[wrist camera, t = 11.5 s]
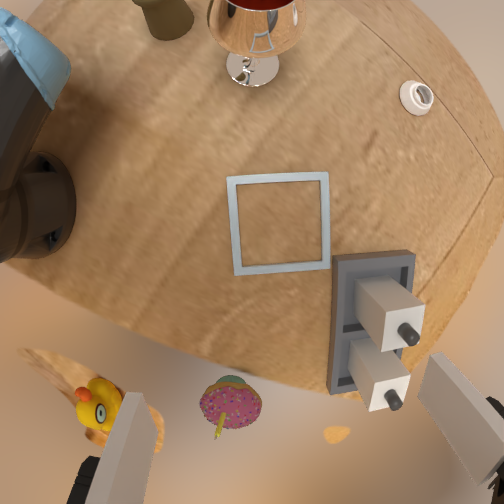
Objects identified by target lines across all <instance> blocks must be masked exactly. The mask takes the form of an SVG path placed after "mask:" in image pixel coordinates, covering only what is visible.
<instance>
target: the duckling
mask: <svg viewBox="0 0 504 504" xmlns="http://www.w3.org/2000/svg"><path fill="white" fill-rule="evenodd" d="M75 395H76V396H77V397H80V400H79V401H78V403H77V405H76V413H77V417H78V419H79V420H80V422H81V423H82V424H84V425H85V426H87V427H90V428H92V429H95V430H100V429H103V430H105V431H111V429H112V426H113V424H114V421H115V419H116V416H117V414H118V411H119V409H120V406H121V404H122V397H121V395H120V393H119V391H118V390H117V389H116V388H115V386H114V384H113V383H112V382H110V381H108V380H106V379H103V378H94V379H92V380H90V381H89V383H88V385H87V388H85V387H79V388H77V389H76V391H75Z"/></svg>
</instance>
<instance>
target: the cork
mask: <svg viewBox="0 0 504 504" xmlns="http://www.w3.org/2000/svg"><path fill="white" fill-rule="evenodd" d="M132 1H133V2H134V3H135V4H136V5H138V6H141V7H142V10H143V13H144V16H145V19H146V21H147V24H148V27H149V30H150V33H151V34H152V35H153V36H154V37H155V38H157V39H159V40H165V41H167V40H174V39H177V38H180V37H181V36H183V35H184V34H186V33H187V32H188V31H189V30H190V29H191V27H192V25H193V23H194V15H193V12H192V11H191V10H190V8H189V7H188V5H187V4H186V2H185V1H184V0H132Z"/></svg>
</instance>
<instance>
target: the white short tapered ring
mask: <svg viewBox="0 0 504 504" xmlns="http://www.w3.org/2000/svg"><path fill="white" fill-rule="evenodd" d="M416 89H418V90H419V91H420V92H421V94H422V95H423V98H424V104H423V103H422V102H421V100H420V96H419V95H418V93H416ZM400 99H401V102H402V104H403V106H404V107H405V109H406V110H407V111H409V112H410V113H411V114H413V115H416V116H420V115H425V114H426V113H427V112H428V111H429V109H430V107H431V105H432V102H433V93H432V91H431V90H430V88H429V87H428V86H426V85H424V84H421V83H419V82H416V81H406V82H405V83H404V84H402V86H401V88H400Z"/></svg>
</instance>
